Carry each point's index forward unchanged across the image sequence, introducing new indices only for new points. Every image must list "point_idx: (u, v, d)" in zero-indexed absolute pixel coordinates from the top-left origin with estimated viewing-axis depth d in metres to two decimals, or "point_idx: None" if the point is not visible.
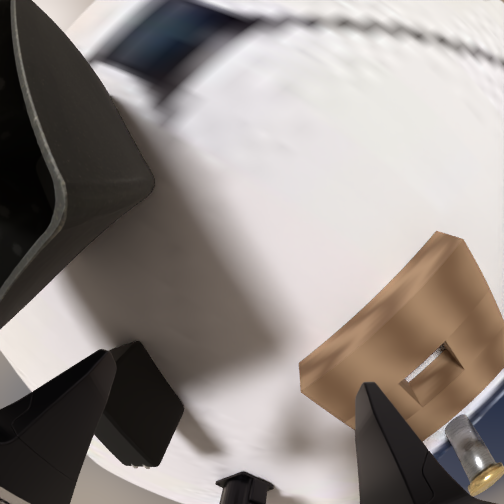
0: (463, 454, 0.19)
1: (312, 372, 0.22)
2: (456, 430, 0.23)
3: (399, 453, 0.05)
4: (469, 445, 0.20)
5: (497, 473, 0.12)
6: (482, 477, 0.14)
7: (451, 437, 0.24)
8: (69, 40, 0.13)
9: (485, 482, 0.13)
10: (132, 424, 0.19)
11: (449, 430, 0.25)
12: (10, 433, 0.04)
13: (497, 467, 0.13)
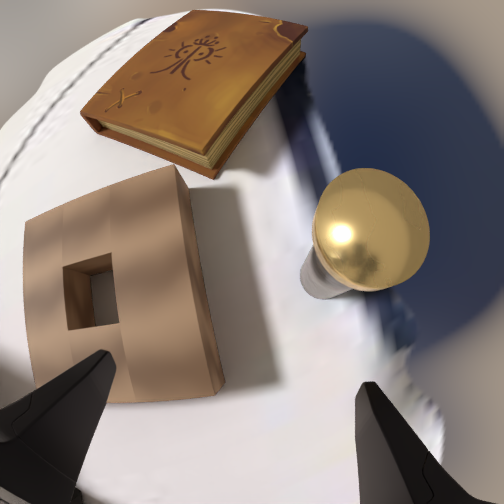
0: (320, 281, 0.17)
1: None
2: (304, 280, 0.21)
3: (399, 453, 0.05)
4: (309, 263, 0.17)
5: (329, 195, 0.11)
6: (316, 246, 0.11)
7: (315, 292, 0.21)
8: None
9: (334, 236, 0.11)
10: None
11: (310, 291, 0.22)
12: (10, 433, 0.04)
13: None
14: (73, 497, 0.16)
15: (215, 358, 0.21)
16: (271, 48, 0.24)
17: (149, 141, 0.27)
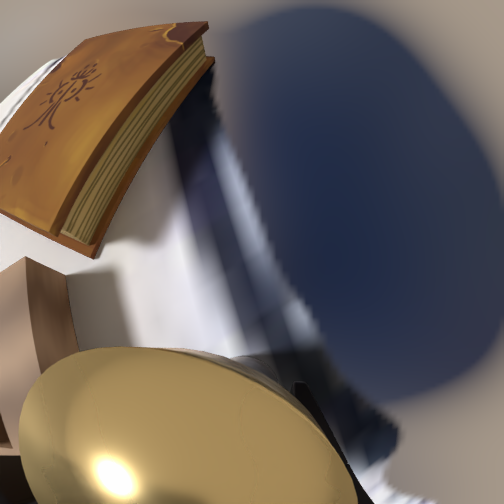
0: None
1: None
2: None
3: None
4: None
5: (30, 431, 0.02)
6: None
7: None
8: None
9: None
10: None
11: None
12: None
13: None
14: None
15: None
16: (153, 59, 0.17)
17: None
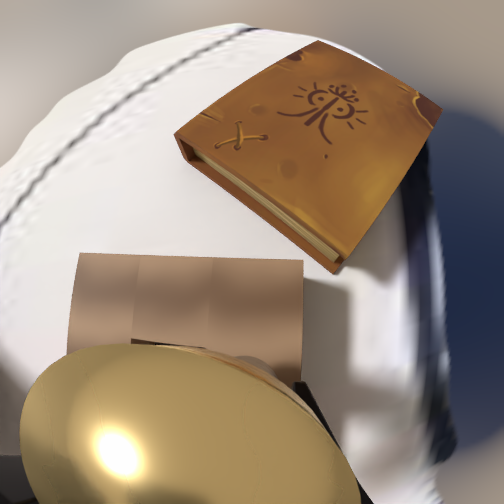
0: None
1: None
2: None
3: None
4: None
5: (31, 430, 0.02)
6: None
7: None
8: None
9: None
10: None
11: None
12: None
13: None
14: None
15: None
16: (415, 131, 0.22)
17: (263, 201, 0.24)
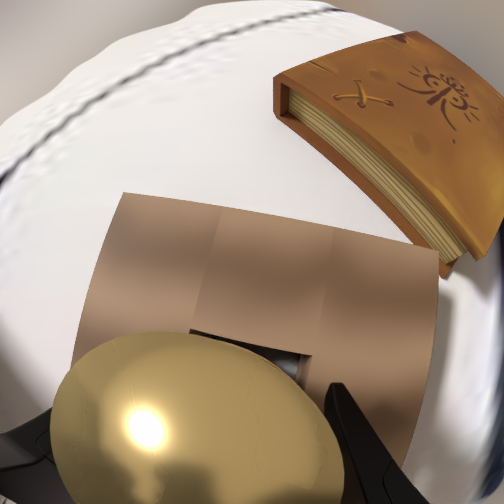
0: None
1: None
2: None
3: (359, 458, 0.05)
4: None
5: (64, 411, 0.03)
6: None
7: None
8: None
9: (87, 493, 0.03)
10: None
11: None
12: (36, 452, 0.04)
13: None
14: None
15: None
16: None
17: (376, 178, 0.18)
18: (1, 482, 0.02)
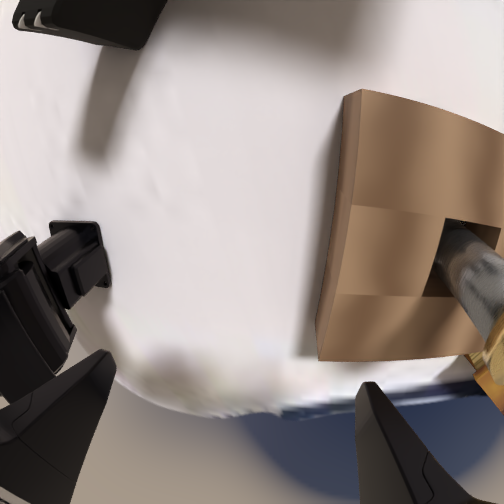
0: (462, 263, 0.13)
1: None
2: None
3: (399, 453, 0.05)
4: (473, 245, 0.12)
5: None
6: None
7: None
8: None
9: None
10: None
11: None
12: (10, 433, 0.04)
13: None
14: (129, 44, 0.13)
15: None
16: None
17: None
18: None
